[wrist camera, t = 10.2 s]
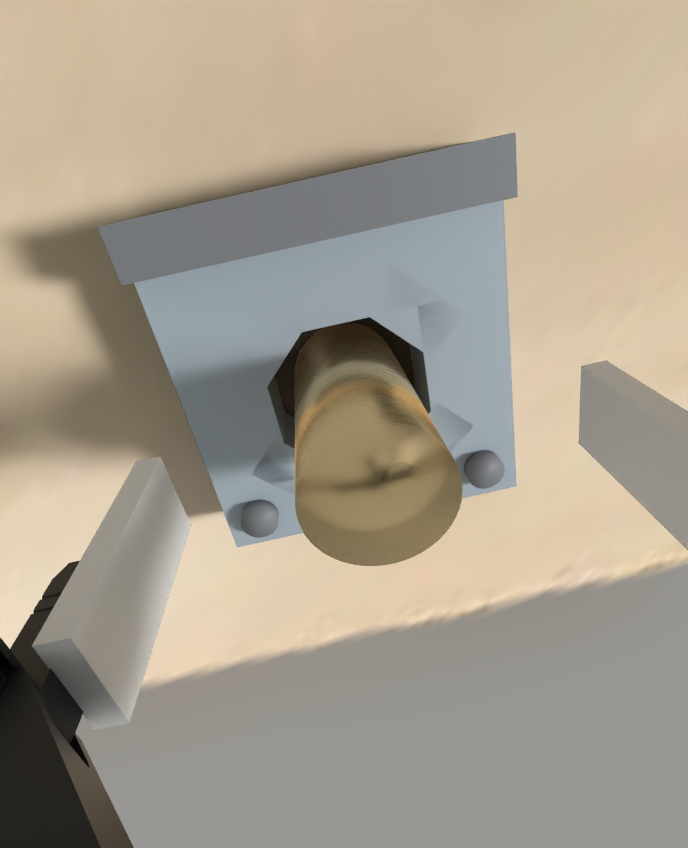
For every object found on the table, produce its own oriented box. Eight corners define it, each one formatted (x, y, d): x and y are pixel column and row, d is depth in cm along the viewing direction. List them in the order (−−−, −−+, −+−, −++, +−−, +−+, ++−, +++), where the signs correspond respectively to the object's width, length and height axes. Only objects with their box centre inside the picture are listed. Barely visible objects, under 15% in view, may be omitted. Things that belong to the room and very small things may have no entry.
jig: (137, 217, 19) (97, 226, 15) (470, 142, 19) (515, 132, 15) (243, 507, 25) (234, 565, 21) (492, 453, 25) (527, 501, 21)
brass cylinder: (283, 335, 21) (274, 448, 12) (386, 311, 21) (453, 407, 12) (308, 427, 23) (316, 580, 14) (402, 405, 23) (469, 545, 14)
